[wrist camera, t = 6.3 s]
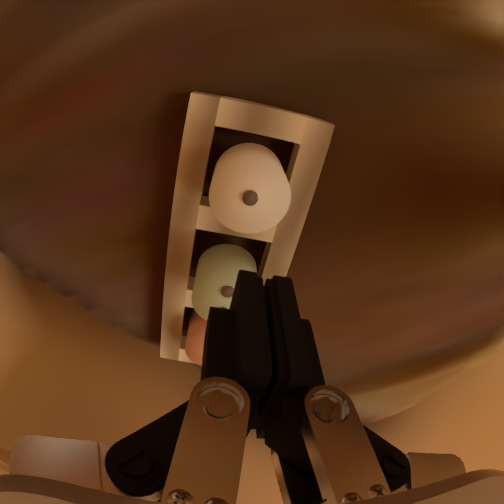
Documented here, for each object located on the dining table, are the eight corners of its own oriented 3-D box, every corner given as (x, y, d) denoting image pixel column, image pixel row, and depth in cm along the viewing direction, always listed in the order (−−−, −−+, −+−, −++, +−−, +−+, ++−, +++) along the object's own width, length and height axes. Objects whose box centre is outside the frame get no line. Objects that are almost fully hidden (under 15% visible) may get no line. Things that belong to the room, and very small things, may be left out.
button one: (290, 151, 21) (301, 169, 18) (273, 213, 24) (279, 241, 20) (221, 136, 20) (216, 151, 17) (208, 200, 23) (202, 227, 19)
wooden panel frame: (327, 120, 22) (335, 125, 20) (250, 356, 35) (251, 370, 34) (194, 91, 21) (190, 92, 19) (163, 343, 34) (160, 357, 32)
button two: (262, 249, 25) (266, 282, 22) (249, 296, 28) (250, 331, 24) (201, 238, 24) (195, 270, 21) (193, 287, 27) (188, 321, 23)
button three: (241, 308, 31) (242, 340, 27) (232, 341, 33) (232, 372, 30) (192, 300, 30) (187, 331, 27) (187, 334, 33) (182, 364, 29)
